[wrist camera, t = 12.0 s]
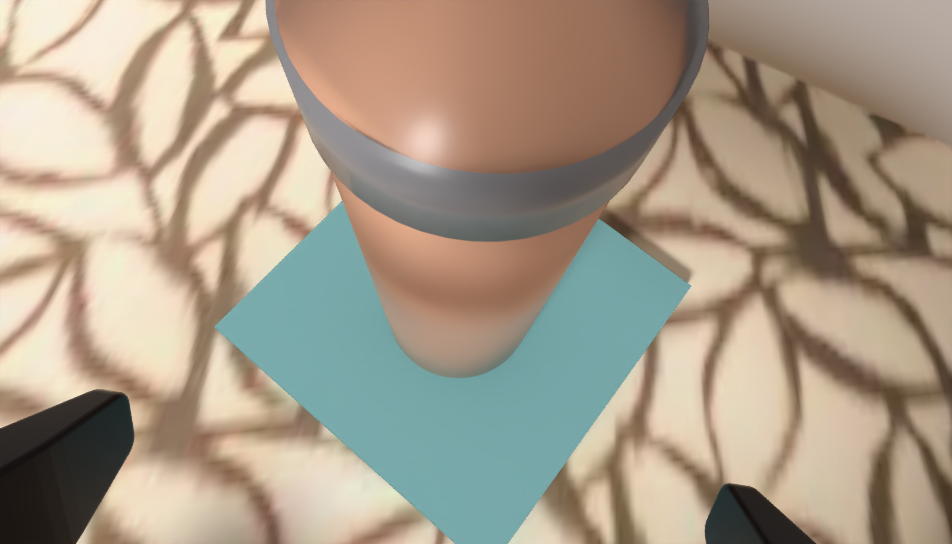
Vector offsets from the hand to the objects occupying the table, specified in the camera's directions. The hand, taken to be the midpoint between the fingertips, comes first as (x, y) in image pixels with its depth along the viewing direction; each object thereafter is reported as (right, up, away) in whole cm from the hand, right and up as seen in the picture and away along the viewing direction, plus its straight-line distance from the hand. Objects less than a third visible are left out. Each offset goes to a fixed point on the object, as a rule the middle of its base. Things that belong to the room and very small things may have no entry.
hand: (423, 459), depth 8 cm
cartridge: (0, +2, +11) cm, 11 cm away
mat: (0, +1, +12) cm, 12 cm away
